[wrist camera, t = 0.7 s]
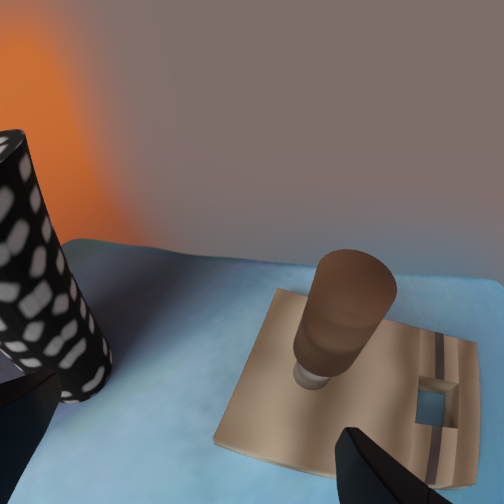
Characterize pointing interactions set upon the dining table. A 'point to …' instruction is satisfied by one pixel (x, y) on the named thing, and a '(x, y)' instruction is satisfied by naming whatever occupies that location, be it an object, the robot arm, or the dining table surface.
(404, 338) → the board
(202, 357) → the dining table surface
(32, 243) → the spotted tube
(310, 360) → the brown wooden peg
